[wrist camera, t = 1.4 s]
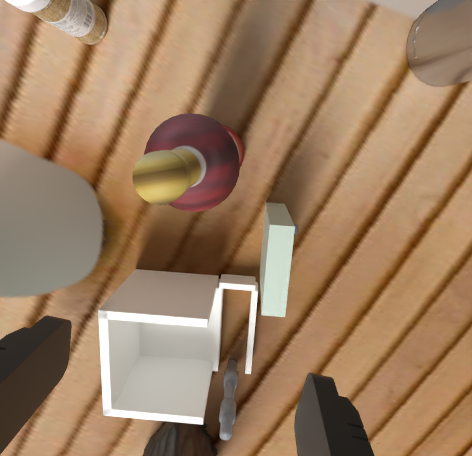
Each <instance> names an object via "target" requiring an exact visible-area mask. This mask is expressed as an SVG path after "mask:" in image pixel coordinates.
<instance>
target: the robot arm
mask: <svg viewBox="0 0 472 456" xmlns="http://www.w3.org/2000/svg"><path fill="white" fill-rule="evenodd" d="M406 52H407V60H408V63H409V65H410V68H411V70H412V71H413V73H414V74H415V75H416V76H417V77H418V78H419V79H420V80H421V81H423V82H425V83H426V84H429V85H432V86H439V87H445V86H451V85H455V84H459V83H463V82H466V81H471V80H472V0H438V1H437V2H435V3H434V4H433V5H431V6H430V7H429V8H427V9H426V10H425V11H424V12H423V13H422V14H421V15H420V16H419V17H418V19H417V20H416V21H415V23H414V24H413V27H412V29H411V31H410V33H409V37H408V40H407V49H406ZM71 327H72V325H71V321H70V320H66V319H61V318H57V317H52V316H44V317H43V318H42V319H41V320H39V321H38V322H37V323H36V324H35V325H34V326H32V327H31V328H26V327H24V328H21V329H19V330H17V331H15V332H12V333H10V334H8V335H6V336H5V337H3V338H2V339H1V340H0V454H1V453H2V452H3V451H4V449H5V448H6V447H7V446H8V444H9V443H10V442H11V441H12V439H13V438H14V437H15V436H16V434H17V433H18V432H19V431H20V429H21V428H22V427H23V426H24V424H25V423H26V422H27V421H28V420H29V418H30V417H31V416H32V415H33V413H34V412H35V411H36V410H37V408H38V407H39V406H40V405H41V403H42V402H43V401H44V400H45V398H46V397H47V396H48V395H49V393H50V392H51V391H52V390H53V388H54V387H55V386H56V385H57V384H58V382H59V381H60V380H61V378H62V377H63V375H64V373H65V371H66V368H67V365H68V361H69V351H70V339H71ZM363 427H364V426H363V424H362V421H361V418H360V415H359V413H358V411H357V410H356V408H355V407H354V406H353V405H352V403H351V402H350V401H349V399H348V398H346V397H342V396H339V395H338V392H337V389H336V386H335V383H334V380H333V378H332V377H327V376H322V375H318V374H313V373H309V374H308V375H307V378H306V381H305V384H304V387H303V390H302V394H301V397H300V400H299V403H298V406H297V410H296V414H295V424H294V428H295V438H296V446H297V453H298V456H374V453H373V451H372V448H371V445H370V442H368V437H367V434H366V432H365V430H364V429H363Z"/></svg>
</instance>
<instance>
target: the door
mask: <svg viewBox="0 0 472 456" xmlns="http://www.w3.org/2000/svg"><path fill="white" fill-rule="evenodd" d="M297 234H298V225H297V224H294V223H293V221H292V219H291V217H290V215H289V212H288V210H287V208H286V206H285V204H282V203H268V202H266V205H265V217H264V228H263V240H262V251H261V263H260V291H261V315H266V316H278V317H285V312H286V303H287V294H288V285H289V276H290V267H291V258H292V249H293V240H294V235H297Z"/></svg>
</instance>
